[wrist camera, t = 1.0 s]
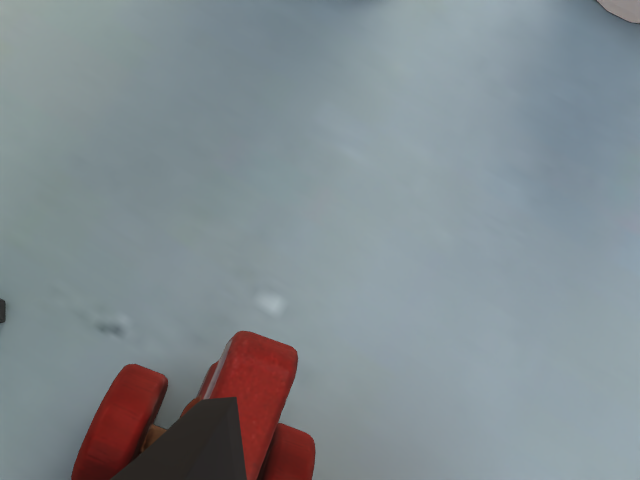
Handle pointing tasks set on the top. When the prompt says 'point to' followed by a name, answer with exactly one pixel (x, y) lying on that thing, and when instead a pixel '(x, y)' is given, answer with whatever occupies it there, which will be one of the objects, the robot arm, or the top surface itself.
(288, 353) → the toy fire truck
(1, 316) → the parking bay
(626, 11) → the white flower pot
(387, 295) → the top surface
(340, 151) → the top surface
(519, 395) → the top surface
